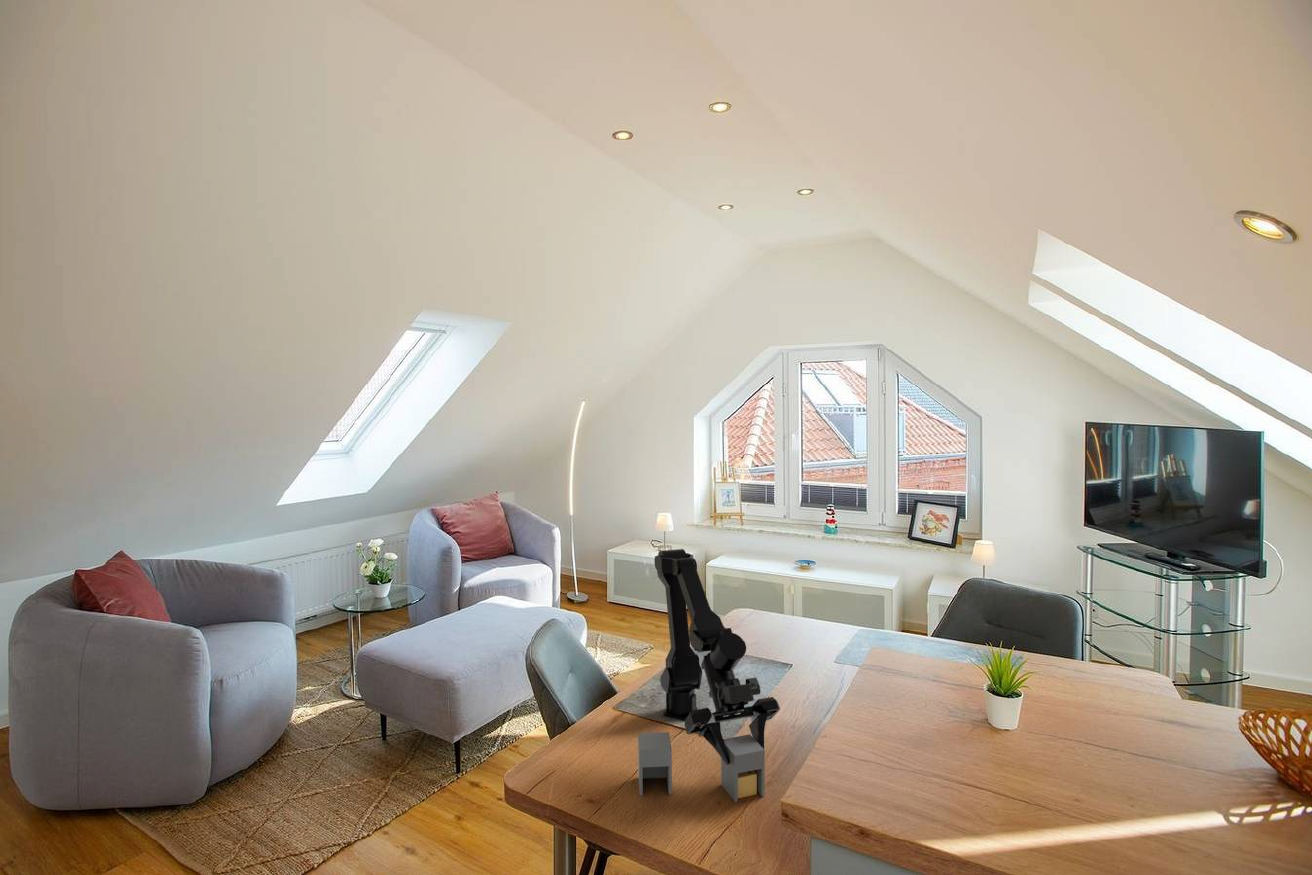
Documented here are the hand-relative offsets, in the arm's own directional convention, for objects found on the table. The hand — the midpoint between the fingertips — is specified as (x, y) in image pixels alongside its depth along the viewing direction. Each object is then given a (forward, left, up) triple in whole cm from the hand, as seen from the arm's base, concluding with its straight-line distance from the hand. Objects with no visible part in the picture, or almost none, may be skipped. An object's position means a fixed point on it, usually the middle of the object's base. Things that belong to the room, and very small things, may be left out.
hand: (745, 760), depth 124 cm
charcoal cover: (-1, +1, -7) cm, 7 cm away
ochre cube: (-1, +1, -7) cm, 7 cm away
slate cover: (-17, -5, -7) cm, 19 cm away
